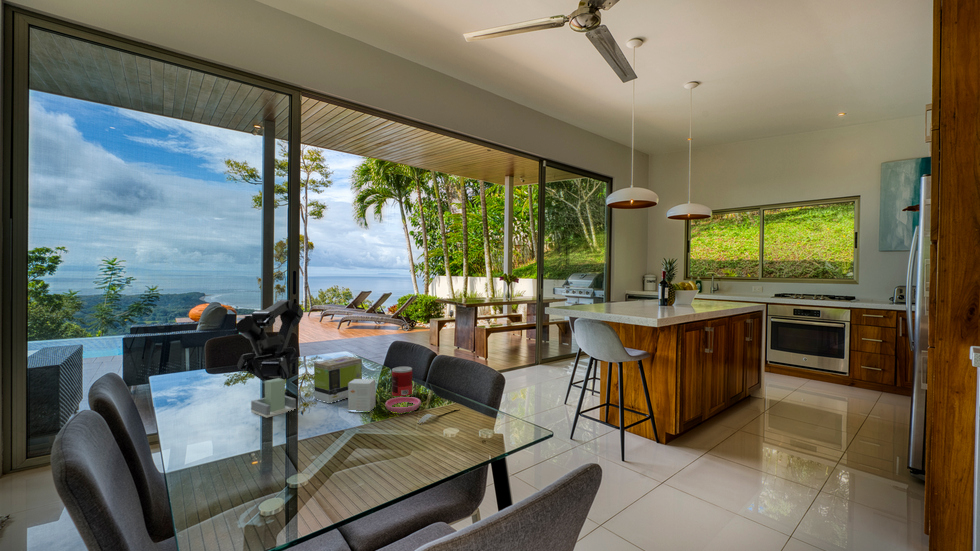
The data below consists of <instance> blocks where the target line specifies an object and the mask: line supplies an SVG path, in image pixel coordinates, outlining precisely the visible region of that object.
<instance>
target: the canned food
mask: <svg viewBox="0 0 980 551" xmlns="http://www.w3.org/2000/svg"><path fill="white" fill-rule="evenodd" d="M410 394H412V395H413V367H410V366H396V367H394V368H392V369H391V396H392V395H393V396H406V395H410ZM393 396H392V397H393Z"/></svg>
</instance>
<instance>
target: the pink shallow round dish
mask: <svg viewBox="0 0 980 551" xmlns="http://www.w3.org/2000/svg"><path fill="white" fill-rule="evenodd" d="M402 402H409V403H413V404H415V405H413V406H408V407H392V405H394V404H397V403H402ZM421 402H422V401H421V399H419V398H418V397H416V396H415V397H414V396H411V397H396V398H393V397H392V398H390V399H388V400H386V402H385V404H384V407H385V408H386V409H387V410H388V411H389V412H390V411H392V412H397V413H404V412H410V411H414V410H417V409H418V408H419V407H420V406H421ZM414 412H415V411H414Z"/></svg>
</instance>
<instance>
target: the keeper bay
mask: <svg viewBox="0 0 980 551" xmlns="http://www.w3.org/2000/svg"><path fill="white" fill-rule="evenodd" d="M250 405H251V406H250V408H251V409H250V410H251V411H250V412H251V413H253V414H256V415H259V416H261V417H263V418H270V417H275V416H278V415H282V414H284V413H285V414H286V413H289V412H292V411H295V410H294V409H297V408H296V407H297V399H296V398H294V397H291V396H288V395H285V408H283V409H279V410H275V411H272V412H270V405H267V404H265V397H263V398H262V397H261V398H258V399H254V400H251V403H250ZM291 410H292V411H291ZM288 411H289V412H288Z"/></svg>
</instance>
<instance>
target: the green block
mask: <svg viewBox="0 0 980 551" xmlns="http://www.w3.org/2000/svg"><path fill="white" fill-rule="evenodd" d="M264 384H265V395H264V398H265V404H267V405H270V412H272V411H275V410H279V409H283V408H285V396H286V393H285V391H286V379H285V380H284V379H280V378H277V379H272V380H267V381H265V380H264Z"/></svg>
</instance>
